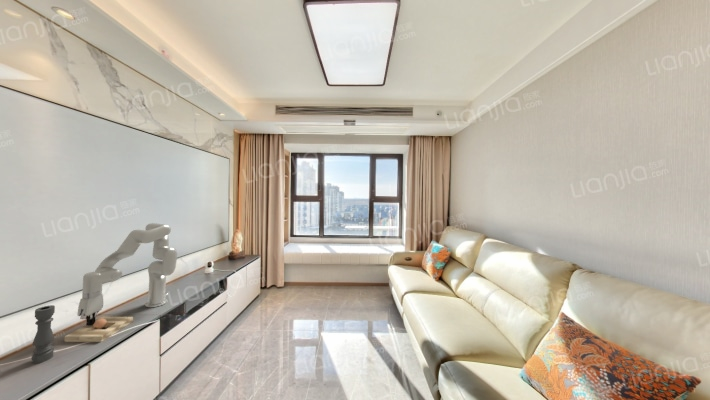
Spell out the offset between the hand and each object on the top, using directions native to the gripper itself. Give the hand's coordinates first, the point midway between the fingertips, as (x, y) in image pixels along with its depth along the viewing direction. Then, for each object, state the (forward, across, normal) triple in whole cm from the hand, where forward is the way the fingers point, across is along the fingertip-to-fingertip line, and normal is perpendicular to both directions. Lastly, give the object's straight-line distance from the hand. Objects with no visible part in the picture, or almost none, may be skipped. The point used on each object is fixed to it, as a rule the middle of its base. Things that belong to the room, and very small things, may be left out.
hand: (90, 324), depth 133 cm
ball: (-1, +1, +6) cm, 6 cm away
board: (+4, 0, +6) cm, 7 cm away
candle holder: (+4, +23, +1) cm, 23 cm away
